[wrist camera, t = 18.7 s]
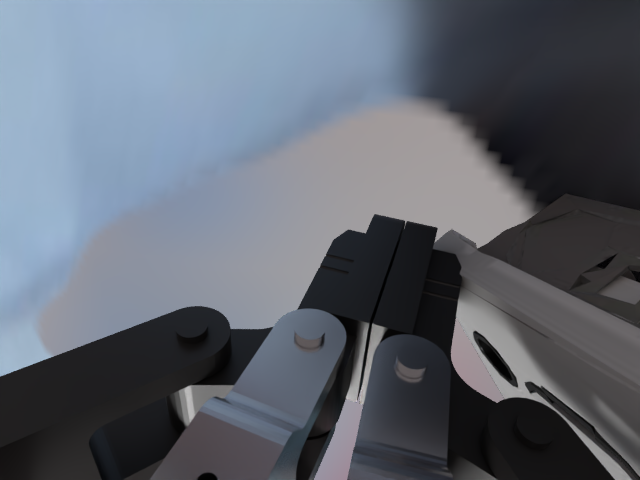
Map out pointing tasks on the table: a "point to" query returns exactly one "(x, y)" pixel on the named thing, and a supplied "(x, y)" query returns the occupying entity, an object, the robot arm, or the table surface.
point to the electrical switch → (562, 319)
